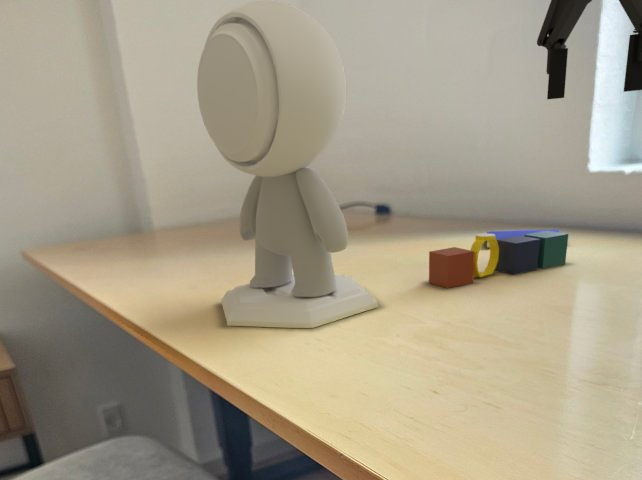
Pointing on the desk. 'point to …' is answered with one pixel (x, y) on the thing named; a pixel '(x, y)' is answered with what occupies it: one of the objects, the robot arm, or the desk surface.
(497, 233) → the hard drive
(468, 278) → the block terracotta
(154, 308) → the desk surface
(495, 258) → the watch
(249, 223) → the white toy figurine
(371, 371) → the desk surface
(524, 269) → the block navy
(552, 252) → the block teal
